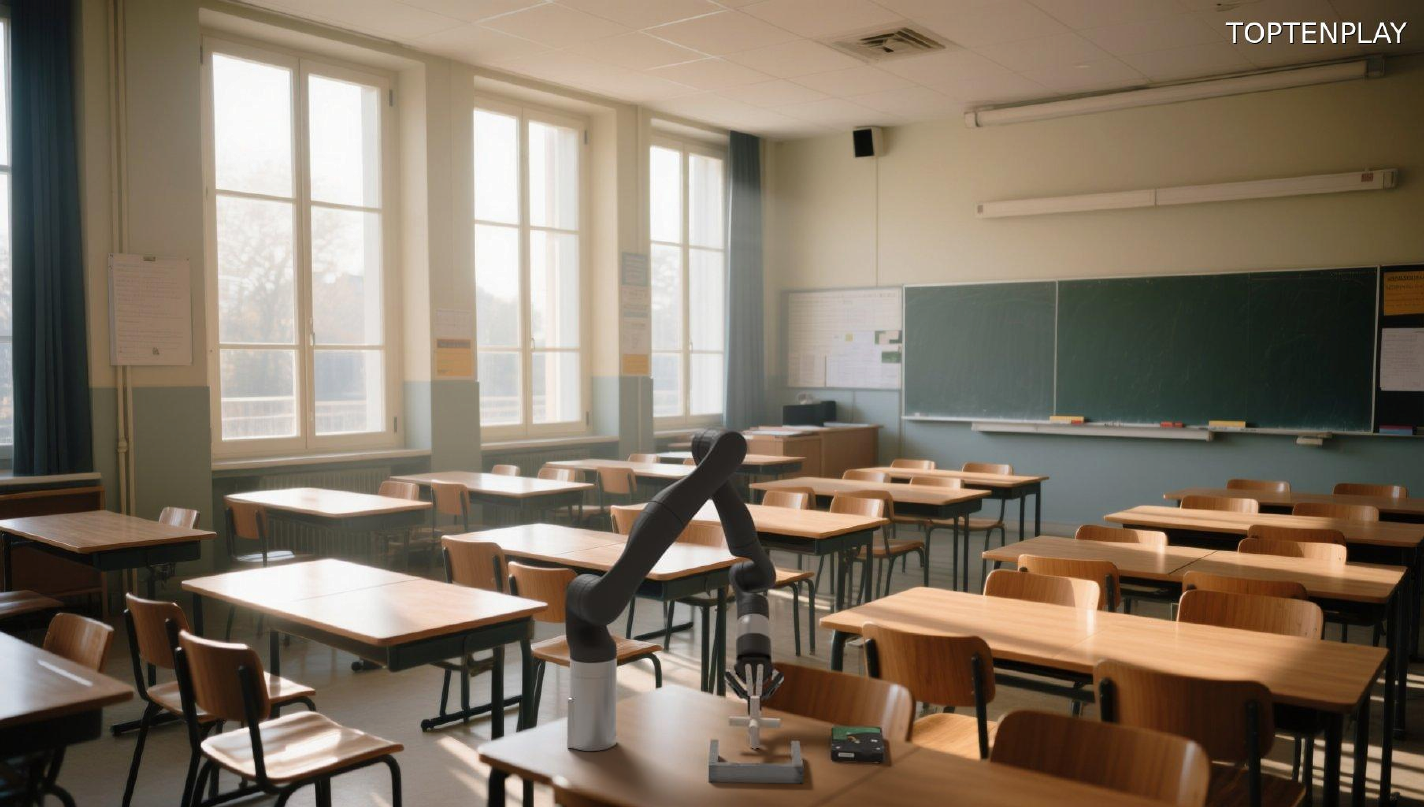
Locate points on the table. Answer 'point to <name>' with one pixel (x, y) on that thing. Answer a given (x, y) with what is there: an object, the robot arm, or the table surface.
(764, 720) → the pipe connector
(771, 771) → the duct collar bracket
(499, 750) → the table surface
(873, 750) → the disk drive
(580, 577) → the robot arm
